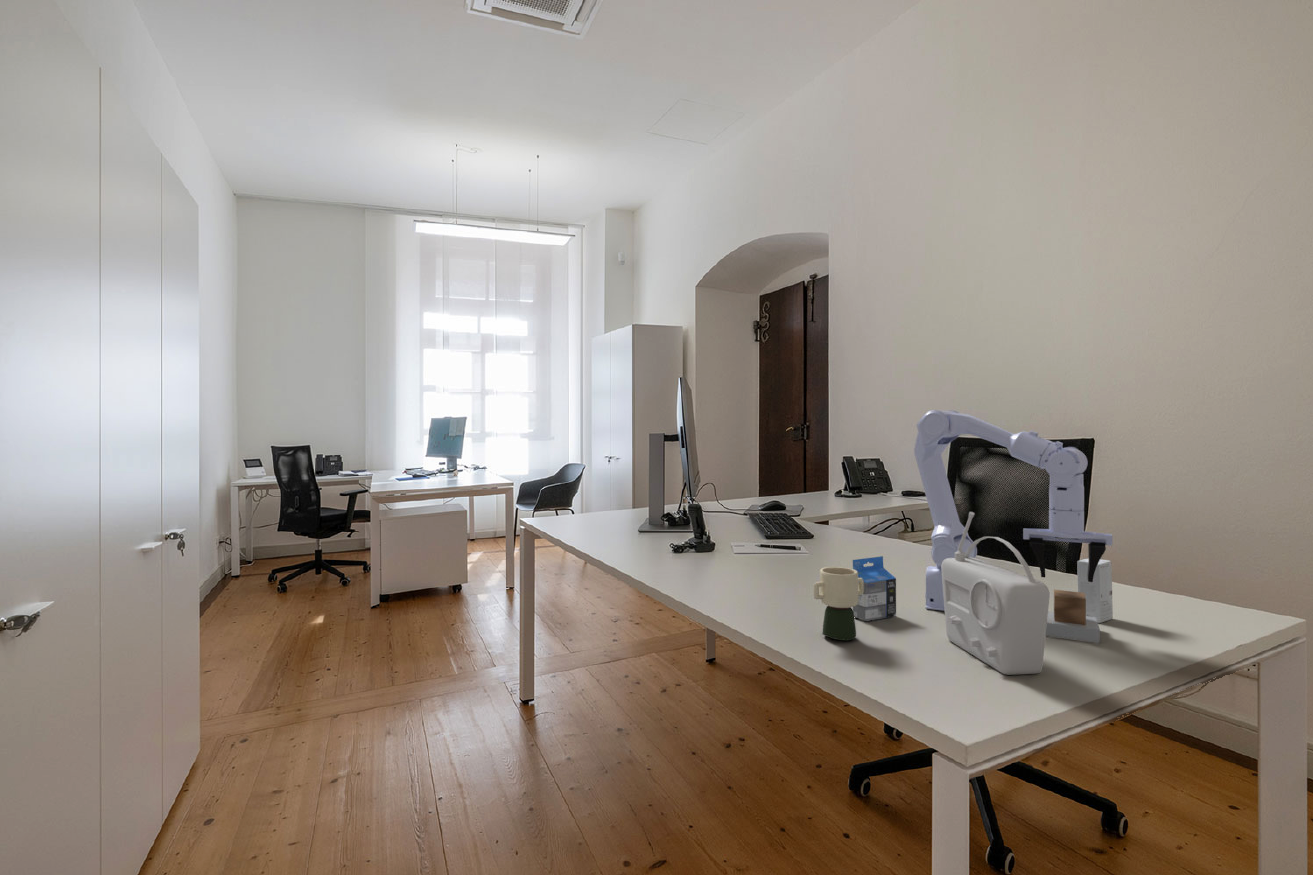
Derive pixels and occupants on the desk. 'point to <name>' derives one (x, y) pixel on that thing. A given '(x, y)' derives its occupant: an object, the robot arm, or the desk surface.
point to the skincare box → (1096, 589)
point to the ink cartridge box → (875, 590)
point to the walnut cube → (1069, 607)
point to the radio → (995, 610)
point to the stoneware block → (1073, 629)
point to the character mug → (839, 600)
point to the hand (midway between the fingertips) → (1066, 578)
